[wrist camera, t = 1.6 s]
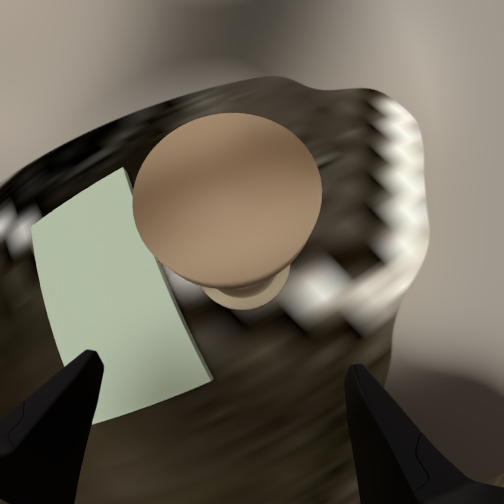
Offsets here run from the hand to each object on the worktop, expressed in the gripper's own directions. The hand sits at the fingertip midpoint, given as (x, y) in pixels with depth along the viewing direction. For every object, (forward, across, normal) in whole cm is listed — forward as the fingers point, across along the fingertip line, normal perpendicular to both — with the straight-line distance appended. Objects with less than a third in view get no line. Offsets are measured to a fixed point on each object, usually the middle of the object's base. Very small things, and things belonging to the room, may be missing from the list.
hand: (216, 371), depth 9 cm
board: (+11, +12, +6) cm, 18 cm away
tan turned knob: (+13, 0, +4) cm, 14 cm away
